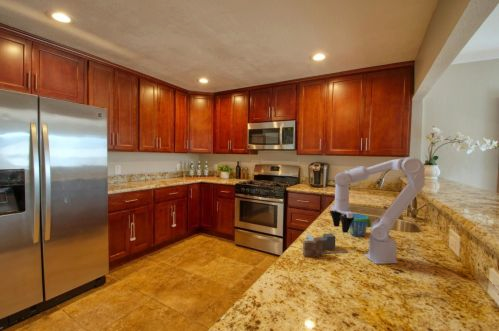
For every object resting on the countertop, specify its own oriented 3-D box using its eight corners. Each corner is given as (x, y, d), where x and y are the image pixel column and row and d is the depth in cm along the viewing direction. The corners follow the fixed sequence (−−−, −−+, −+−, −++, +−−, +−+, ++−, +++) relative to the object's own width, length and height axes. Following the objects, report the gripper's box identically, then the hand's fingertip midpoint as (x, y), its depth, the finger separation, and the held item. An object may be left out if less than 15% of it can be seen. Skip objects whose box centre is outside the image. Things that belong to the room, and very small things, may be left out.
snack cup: (349, 238, 115) (350, 219, 114) (338, 231, 125) (339, 213, 125) (376, 237, 117) (377, 218, 117) (363, 230, 128) (364, 212, 127)
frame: (347, 251, 100) (347, 236, 99) (351, 255, 96) (352, 239, 96) (301, 253, 97) (302, 237, 97) (304, 257, 94) (305, 240, 94)
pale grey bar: (320, 251, 99) (320, 243, 98) (316, 252, 98) (316, 243, 98) (308, 241, 110) (308, 233, 110) (304, 241, 110) (304, 233, 110)
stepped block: (331, 245, 106) (331, 233, 106) (335, 249, 102) (335, 236, 102) (316, 246, 105) (317, 233, 105) (320, 249, 101) (320, 237, 101)
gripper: (325, 196, 106) (324, 224, 107) (341, 202, 91) (340, 235, 92) (339, 195, 107) (338, 223, 107) (357, 202, 92) (356, 234, 93)
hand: (340, 229), depth 100 cm, fingers open, 7 cm apart
